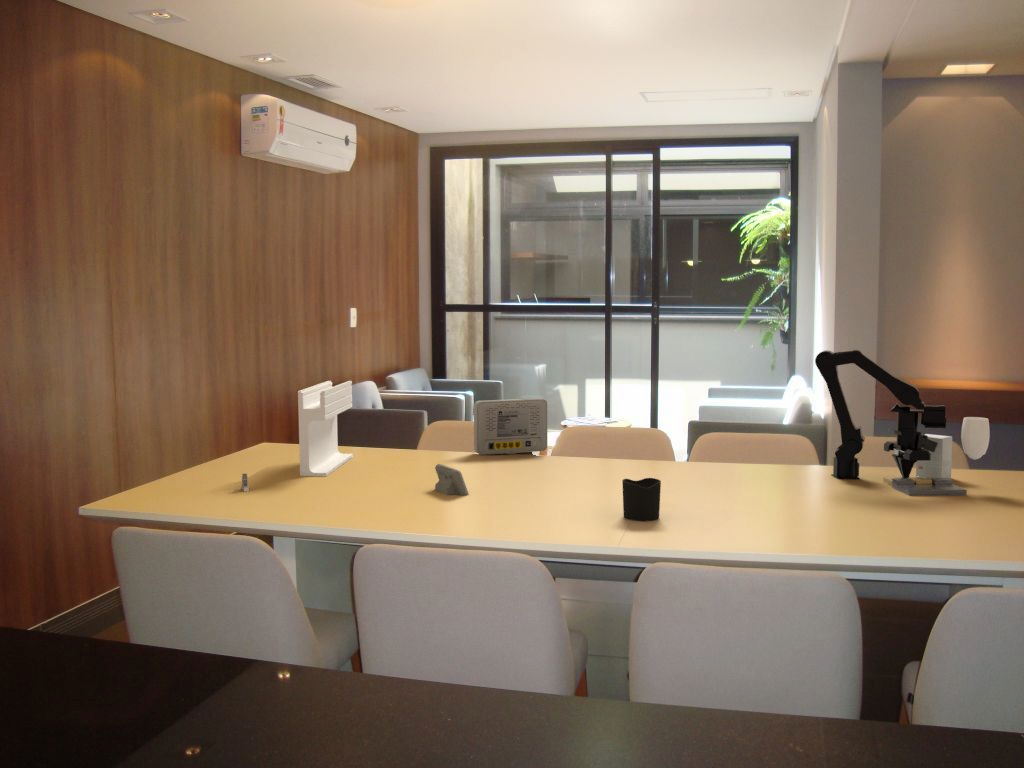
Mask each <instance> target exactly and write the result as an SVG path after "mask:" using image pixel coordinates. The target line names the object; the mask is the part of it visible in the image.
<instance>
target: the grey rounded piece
mask: <svg viewBox="0 0 1024 768" xmlns="http://www.w3.org/2000/svg"><path fill="white" fill-rule="evenodd" d="M989 420H990V419H989V418H986V417H982V416H981V417H980V416H966V417H963V419H962V425H961V434H960V438H961V439H960V440H961V446H962V450H963V453H964V455H965V454H966V456H967V457H968V458H969V459H971V460H978V459H981V457H982V456H983V455H984V456H985V455H986V453H987V450H988V448H989V443H990V438H991V437H990V434H991V433H990V432H991V431H990V422H989Z"/></svg>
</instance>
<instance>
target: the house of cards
mask: <svg viewBox="0 0 1024 768" xmlns="http://www.w3.org/2000/svg"><path fill="white" fill-rule="evenodd" d="M248 480H249V478H248V473H247V472H246V473H242V475H241V490H242V492H244V493H248V492H250V489H249V485H248V483H249V482H248ZM237 491H239V489H234V490H233V492H237Z"/></svg>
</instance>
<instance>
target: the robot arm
mask: <svg viewBox="0 0 1024 768" xmlns="http://www.w3.org/2000/svg"><path fill="white" fill-rule="evenodd" d="M814 361H815V365H816V367H817V369H818V372H819V373H820V375H821V376H822V378H823V380H824V381H825V383H826V386H827V389H828V392H829V395H830V399H831V402H832V405H833V408H834V411H835V414H836V417H837V420H838V423H839V426H840V428H839V429H840V437H841V444H840V445H839V446H838V447H837V448H836V450H835V451H834V455H835V456H833V469H832V470H833V472H832V473H831V474H830V476H832V477H833V478H835V479H837V480H860V477H859V475H860V463H859V458H858V457H856V455H857V454H859V453H861V452H862V451H863V446H864V443H865V439H866V437H865V436H864V434H863V431H862V426H861V425H860V426H858V427H857V425H856V424H855V423H854V420H853V418H852V415H851V411H850V410H849V405H848V403H847V400H846V397H845V393H844V391H843V387H842V383H841V382H840V378H839V368H838V366H843V365H850V364H854V365H856V366H857V367H858V368H859V369H861V370H862V371H863V372H865V373H867V374H868V375H869V376H871V377H872V378H873V379H875V380H876V381H878V382H879V383H880V384H882V385H883V386H884V387H886V389H888V390H889V392H891V394H893V396H894V397H895V398H896V399H897V400H898V401H899V402H900V403H901V404H902V405H899V403H897V402H896V403H895V405H894V406H893V407H891V409H890V412H892V413H897V414H896V415H897V418H896V421H897V422H896V429H894V430H893V433H894V434H895V435H896V440H895V441H894V440H892V441H889V440H887V441H886V442H885V443H883V451H885V452H886V453H887V452H890V451H894V453H893V454H891V456H892V457H893V459H894V463H896V466H897V468H898V470H899V473H900V474H901V478H904V477H910V475H911V472H912V470H913V467H914V465H915V464H916V462H917V461H929V460H931V453H930V452H929V451H931V452H935V449H936V447H937V444H938V443H937V442H935V441H932V440H929V439H928V436H927V435H924V434H923V433H922V432H921V431H919V414H920V425H922V426H924V428H925V429H935V430H936V429H938V430H939V429H940V430H946V428H947V427H946V426H947V416H946V408H947V407H946V405H942V404H941V405H927V404H925V401H923V400H922V399H921V397H920V391H919V388H917V386H915V385H914V384H912V383H910V382H909V381H908V382H907V381H906V380H903V379H901V378H899V377H897V376H895V375H893V374H892V373H890V372H889V371H888V370H886V369H884V368H883V367H882V366H880V365H879V364H878V363H877V362H875V361H874V360H872V359H871V358H869V357H868V356H866V355H865V354H864V353H863V352H862V351H861V350H859V349H853V350H849V351H847V350H846V351H838V352H837V351H836V352H834V351H832V350H823V351H821V352H819V353H818V354H817V355H816V357H815V359H814ZM911 406H912V407H914V408H915V409H911ZM922 448H923V449H922ZM924 449H925V450H924ZM927 450H928V451H927Z"/></svg>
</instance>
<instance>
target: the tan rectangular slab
mask: <svg viewBox="0 0 1024 768" xmlns="http://www.w3.org/2000/svg"><path fill="white" fill-rule="evenodd" d="M892 478H893V477H883V478H882V479H883V480H882V481H883V483H885V484H886V483H887V485H889V486H890V487H892ZM904 478H910V479H912V480H914V485H916V484H932V480H931V479H930V478H931V477H916V476H915V477H912V476H911V477H910V476H909V477H904Z"/></svg>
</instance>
